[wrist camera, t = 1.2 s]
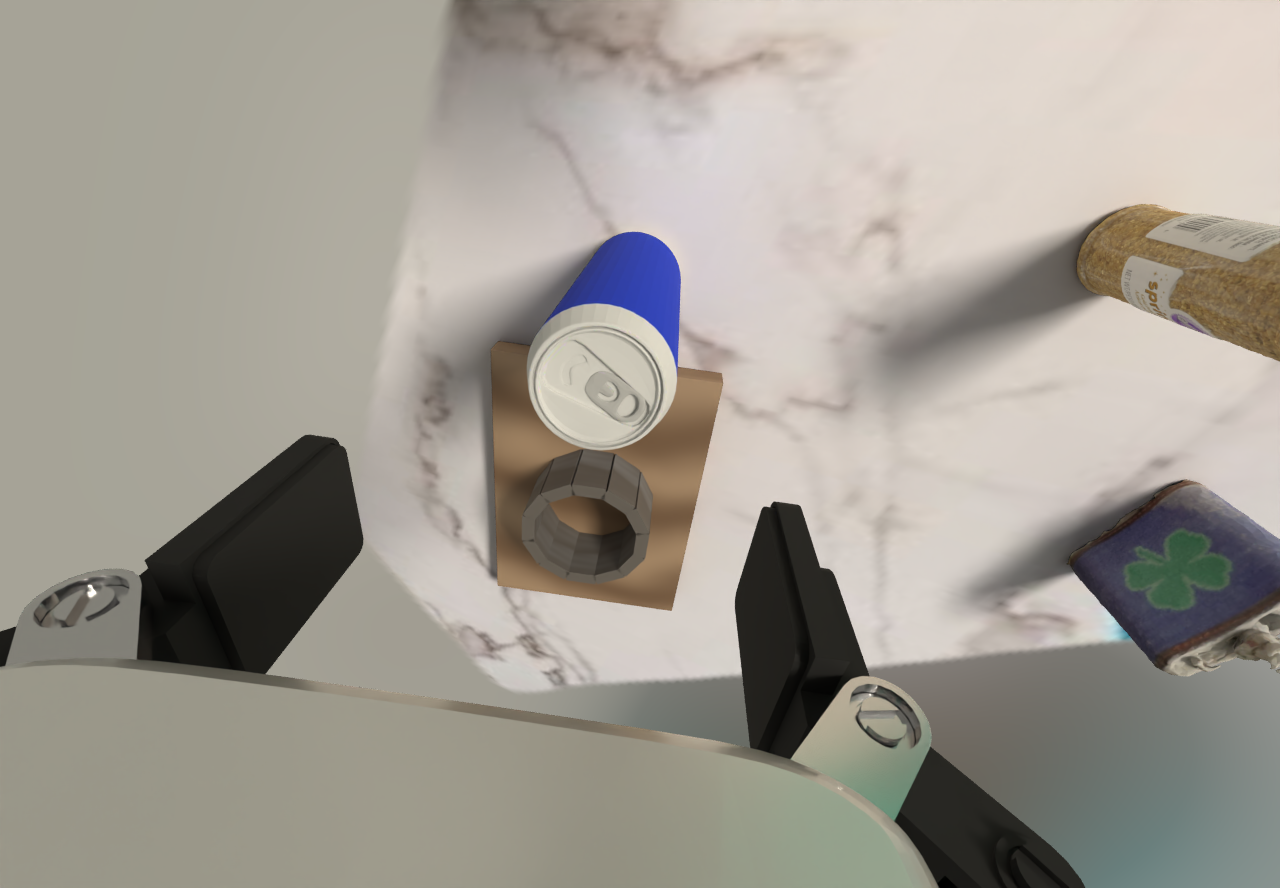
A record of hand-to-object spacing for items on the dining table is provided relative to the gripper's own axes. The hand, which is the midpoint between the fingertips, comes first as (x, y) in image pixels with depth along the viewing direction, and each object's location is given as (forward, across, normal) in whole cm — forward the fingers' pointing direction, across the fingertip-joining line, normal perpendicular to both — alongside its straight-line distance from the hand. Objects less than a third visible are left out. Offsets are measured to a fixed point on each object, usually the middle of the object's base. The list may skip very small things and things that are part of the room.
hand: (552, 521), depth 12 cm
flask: (+22, -36, +11) cm, 44 cm away
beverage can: (+22, 0, -1) cm, 22 cm away
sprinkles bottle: (+21, -25, -6) cm, 33 cm away
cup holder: (+21, +1, +14) cm, 26 cm away
